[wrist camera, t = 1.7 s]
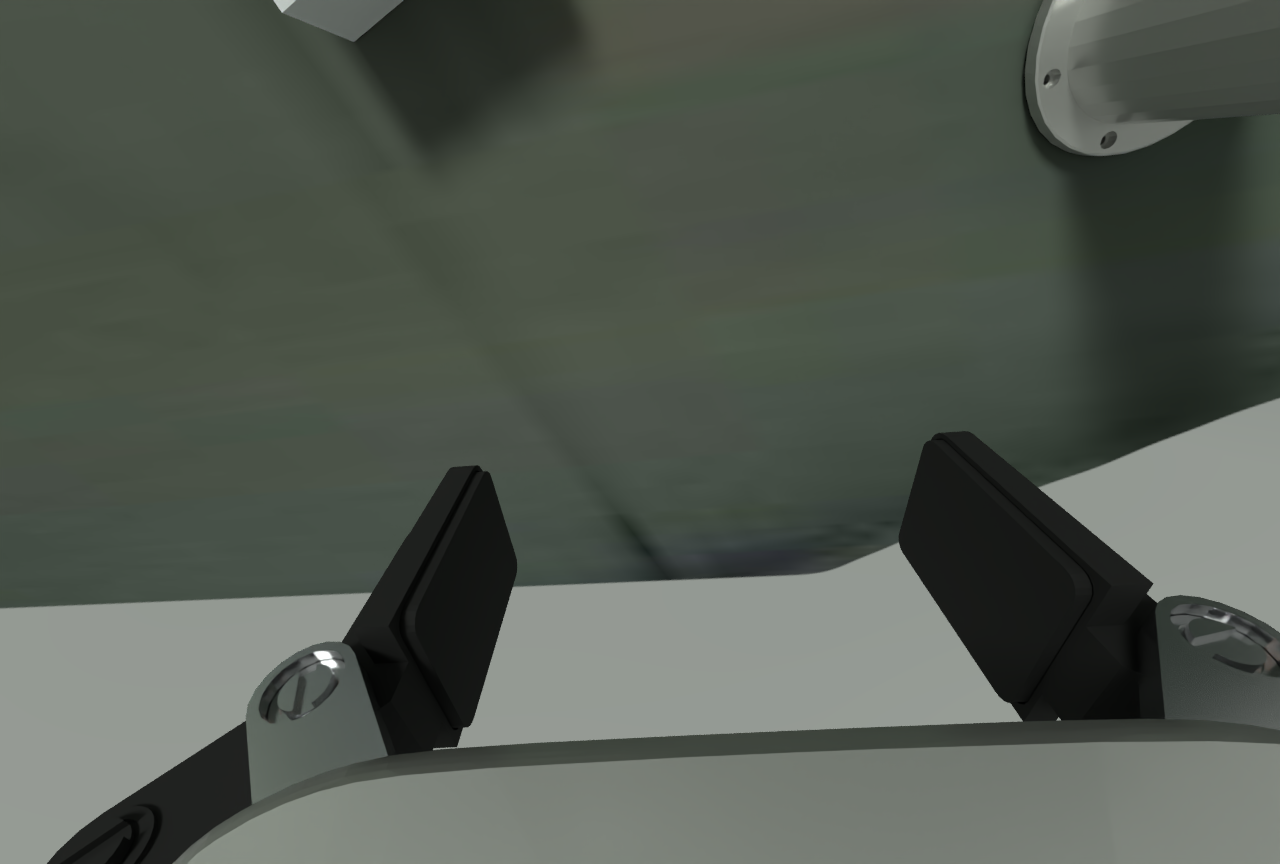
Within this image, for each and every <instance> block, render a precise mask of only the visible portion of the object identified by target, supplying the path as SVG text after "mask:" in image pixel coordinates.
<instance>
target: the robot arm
mask: <svg viewBox="0 0 1280 864" xmlns="http://www.w3.org/2000/svg"><path fill="white" fill-rule="evenodd" d="M1025 91H1026V98H1027V102H1028V106H1029V110H1030V114H1031V116H1032V118H1033V120H1034V122H1035V124H1036V126H1037V128H1038V130H1039V131H1040V132H1041V133H1042V134H1043V135H1044V136H1045V137H1046V138H1047V140H1048V141H1049V142H1050V143H1051V144H1053V145H1055V146H1057V147H1059V148H1061V149H1062V150H1064V151H1066V152H1070V153H1074V154H1079V155H1083V156H1109V155H1117V154H1125V153H1129V152H1132V151H1135V150H1138V149H1141V148H1145V147H1148V146H1150V145H1152V144H1154V143H1156V142H1158V141H1160V140H1162V139H1164V138H1166V137H1169V136H1171V135H1172V134H1174V133H1175V132H1177V131H1178V130H1180V129H1182V128H1183V127H1185V126H1186V125H1188V124H1189V123H1191V122H1192V121H1194V120H1199V119H1213V118H1227V117H1242V116H1256V115H1271V114H1280V0H1043V2H1042V5H1041V7H1040V9H1039V12H1038V14H1037V16H1036V20H1035V23H1034V27H1033V30H1032V34H1031V37H1030V41H1029V44H1028V51H1027V58H1026V66H1025ZM899 544H900V548H901V550H902V552H903V554H904V555H905V557H906V558H907V560H908V561H909V563H910V564H911V566H912V567H913V568H914V570H915V572H916V573H917V575H918V576H919V577H920V579H921V581H922V582H923V584H924V585H925V587H926V588H927V590H928V591H929V593H930V594H931V596H932V597H933V598H934V600H935V601H936V603H937V605H938V606H939V607H940V609H941V611H942V612H943V614H944V615H945V616H946V618H947V620H948V621H949V623H950V624H951V626H952V627H953V629H954V630H955V632H956V633H957V635H958V636H959V638H960V639H961V641H962V642H963V644H964V645H965V646H966V648H967V650H968V651H969V653H970V654H971V656H972V657H973V659H974V660H975V662H976V663H977V665H978V666H979V668H980V669H981V671H982V672H983V674H984V675H985V677H986V678H987V680H988V681H989V683H990V684H991V686H992V687H993V689H994V690H995V692H996V693H997V694H998V696H999V697H1000V698H1002V699H1003V700H1004V701H1006V702H1008V703H1011V704H1012V706H1013V707H1014V709H1015V710H1016V711H1017V713H1018V714H1019V716H1020V718H1021V719H1022V720H1023V722H1000V723H974V724H948V725H922V726H898V727H871V728H848V729H825V730H802V731H778V732H756V733H734V734H711V735H689V736H668V737H648V738H628V739H608V740H588V741H568V742H547V743H529V744H515V745H500V746H486V747H470V748H455V749H441V750H433V748H445V747H457V745H458V742H459V739H460V736H461V732H462V729H463V727H469V726H470V725H471V723H472V721H473V718H474V716H475V712H476V709H477V705H478V702H479V699H480V695H481V692H482V688H483V685H484V682H485V678H486V675H487V672H488V668H489V665H490V661H491V658H492V655H493V651H494V648H495V645H496V641H497V638H498V635H499V631H500V627H501V624H502V621H503V618H504V614H505V611H506V607H507V604H508V601H509V597H510V594H511V590H512V587H513V584H514V581H515V577H516V573H517V559H516V556H515V552H514V549H513V546H512V543H511V539H510V536H509V533H508V530H507V526H506V523H505V520H504V517H503V514H502V510H501V507H500V504H499V501H498V497H497V494H496V491H495V488H494V484H493V481H492V478H491V475H490V473H489V472H487V471H485V472H483V471H482V469H481V468H480V467H479V466H477V465H476V466H462V467H452V468H450V469H449V470H448V472H447V473H446V475H445V477H444V478H443V480H442V482H441V483H440V485H439V486H438V488H437V490H436V491H435V493H434V495H433V496H432V498H431V500H430V501H429V503H428V504H427V506H426V508H425V509H424V511H423V513H422V514H421V516H420V517H419V519H418V521H417V522H416V524H415V526H414V527H413V529H412V531H411V532H410V533H409V535H408V536H407V537H406V539H405V540H404V542H403V543H402V545H401V547H400V548H399V550H398V552H397V553H396V555H395V556H394V558H393V560H392V561H391V563H390V565H389V566H388V568H387V569H386V571H385V573H384V574H383V576H382V578H381V579H380V581H379V583H378V584H377V586H376V587H375V589H374V591H373V592H372V594H371V596H370V597H369V599H368V600H367V602H366V604H365V605H364V607H363V609H362V610H361V612H360V614H359V615H358V617H357V618H356V620H355V622H354V623H353V625H352V626H351V628H350V630H349V632H348V633H347V635H346V636H345V638H344V639H343V641H342V642H324V643H320V644H316V645H312V646H310V647H308V648H305V649H303V650H301V651H299V652H297V653H295V654H294V655H292V656H291V657H289V658H288V659H286V660H285V661H283V662H281V663H280V664H279V665H278V666H277V667H276V668H275V669H274V670H272V672H270V673H269V674H268V675H267V676H266V677H265V678H264V680H263V681H262V682H261V684H260V685H259V686H258V687H257V688H256V690H255V691H254V694H253V696H252V697H251V699H250V701H249V704H248V707H247V713H246V721H245V722H243V723H242V724H241V725H239V726H237V727H236V728H234V729H233V730H231V731H229V732H228V733H226V734H225V735H223V736H222V737H220V738H219V739H217V740H215V741H214V742H212V743H211V744H209V745H208V746H206V747H205V748H203V749H202V750H200V751H199V752H197V753H196V754H194V755H192V756H191V757H189V758H188V759H186V760H185V761H183V762H181V763H180V764H178V765H177V766H175V767H174V768H173V769H171V770H169V771H168V772H166V773H164V774H163V775H161V776H160V777H159V778H157V779H155V780H154V781H152V782H151V783H149V784H147V785H146V786H144V787H143V788H141V789H140V790H138V791H137V792H135V793H134V794H132V795H131V796H129V797H127V798H126V799H124V800H123V801H121V802H120V803H118V804H117V805H115V806H114V807H112V808H110V809H109V810H107V811H106V812H104V813H103V814H101V815H100V816H99V817H98V818H96V819H95V820H93V821H92V822H91V823H89V824H88V825H87V826H85V827H84V828H83V829H81V830H80V831H79V832H78V833H77V834H76V835H74V837H72V838H71V839H70V840H69V841H68V842H67V843H66V844H65V845H64V846H63V847H62V848H60V849H59V850H58V851H57V852H56V854H55V855H54V856H53V857H52V858H51V859H50V861H49V862H48V863H47V864H1280V633H1279V632H1278V631H1276V630H1275V629H1274V628H1272V627H1271V626H1269V625H1268V624H1266V623H1264V622H1262V621H1260V620H1258V619H1256V618H1255V617H1253V616H1251V615H1249V614H1247V613H1245V612H1243V611H1240V610H1238V609H1235V608H1233V607H1230V606H1227V605H1225V604H1222V603H1219V602H1215V601H1212V600H1208V599H1204V598H1200V597H1192V596H1183V595H1179V596H1171V597H1166V598H1164V599H1163V600H1161V601H1159V602H1158V603H1156V602H1155V601H1154V600H1153V599H1152V598H1151V597H1149V596H1148V595H1147V594H1146V593H1147V592H1148V591H1149V589H1150V588H1151V586H1152V585H1153V583H1152V582H1151V581H1150V580H1148V579H1147V578H1146V577H1145V576H1144V575H1142V574H1141V573H1140V572H1139V571H1138V570H1136V569H1135V568H1134V567H1133V566H1132V565H1130V564H1129V563H1128V562H1127V561H1126V560H1124V559H1123V558H1122V557H1121V556H1120V555H1118V554H1117V553H1116V552H1115V551H1113V550H1112V549H1111V548H1110V547H1109V546H1107V545H1106V544H1105V543H1104V542H1102V541H1101V540H1100V539H1099V538H1098V537H1097V536H1095V535H1094V534H1093V533H1092V532H1091V531H1089V530H1088V529H1087V528H1086V527H1085V526H1083V525H1082V524H1081V523H1080V522H1079V521H1077V520H1076V519H1075V518H1074V517H1072V516H1071V515H1070V514H1069V513H1068V512H1066V511H1065V510H1064V509H1063V508H1062V507H1060V506H1059V505H1058V504H1057V503H1056V502H1054V501H1053V500H1052V499H1051V498H1049V497H1048V496H1047V495H1046V494H1045V493H1044V492H1042V491H1041V490H1040V489H1039V488H1037V487H1036V486H1035V485H1034V484H1033V483H1031V482H1030V481H1029V480H1028V479H1027V478H1025V477H1024V476H1023V475H1022V474H1021V473H1019V472H1018V471H1017V470H1016V469H1015V468H1013V467H1012V466H1011V465H1010V464H1009V463H1007V462H1006V461H1005V460H1004V459H1003V458H1001V457H1000V456H999V455H998V454H996V453H995V452H994V451H993V450H992V449H990V448H989V447H988V446H987V445H986V444H984V443H983V442H982V441H981V440H980V439H978V438H977V437H976V436H975V435H974V434H972V433H970V432H966V431H962V432H948V433H938V434H935V435H934V436H933V437H932V439H931V441H927V442H926V443H925V444H924V447H923V450H922V453H921V457H920V461H919V464H918V468H917V471H916V475H915V479H914V482H913V486H912V489H911V493H910V497H909V500H908V504H907V508H906V511H905V515H904V518H903V522H902V526H901V529H900V533H899ZM1058 717H1059V718H1060V719H1061V720H1062V721H1056V720H1057V718H1058Z"/></svg>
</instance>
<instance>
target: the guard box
mask: <svg viewBox="0 0 1280 864" xmlns="http://www.w3.org/2000/svg"><path fill="white" fill-rule="evenodd" d="M402 1H404V0H274V2H275V3H276V5H277V6H278V8H279V9H280V10H281V12H282V13H284V14H286V15H289V16H291V17H294V18H296V19H299V20H301V21H303V22H306V23H308V24H311V25H313V26H316V27H318V28H321V29H323V30H325V31H328V32H330V33H333V34H335V35H338V36H340V37H343V38H345V39H348V40H350V41H352V42H355V41H356V40H357V39H358V38H359V37H361V36H362V35H363V34H364V33H365V32H367V31H368V30H369V29H370V28H371V27H372V26H374V25H375V24H376V23H377V22H378V21H380V20H381V19H382V18H383V17H384V16H386V15H387V14H388V13H389V12H390V11H392V10H393V9H394V8H395V7H396V6H398V5H399V4H400V3H401V2H402Z"/></svg>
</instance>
